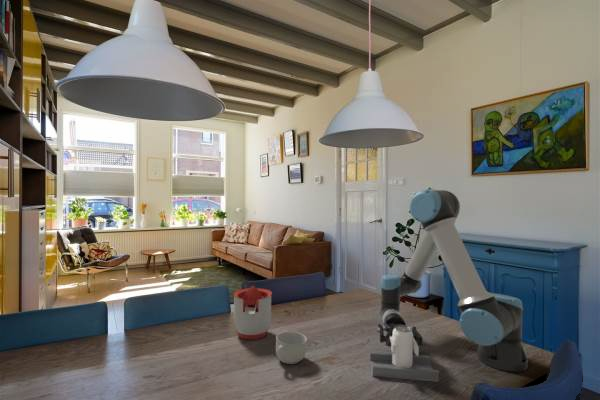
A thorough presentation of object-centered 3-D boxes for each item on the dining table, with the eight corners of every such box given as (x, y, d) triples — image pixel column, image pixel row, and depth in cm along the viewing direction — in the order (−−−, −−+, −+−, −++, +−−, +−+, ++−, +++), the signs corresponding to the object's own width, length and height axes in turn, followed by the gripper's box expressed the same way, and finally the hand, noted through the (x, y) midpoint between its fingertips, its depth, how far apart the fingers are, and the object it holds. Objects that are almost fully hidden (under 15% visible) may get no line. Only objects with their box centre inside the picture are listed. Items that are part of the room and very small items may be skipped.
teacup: (289, 349, 121) (289, 328, 121) (312, 359, 114) (313, 336, 114) (262, 364, 111) (262, 340, 111) (286, 375, 104) (286, 350, 104)
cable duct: (429, 364, 112) (429, 356, 112) (438, 381, 101) (438, 372, 101) (369, 360, 114) (370, 351, 114) (372, 376, 104) (372, 367, 104)
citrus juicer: (228, 344, 125) (229, 292, 125) (236, 326, 142) (236, 280, 142) (270, 344, 125) (270, 292, 125) (272, 326, 143) (273, 281, 142)
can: (403, 358, 112) (404, 323, 112) (416, 367, 106) (417, 330, 106) (387, 361, 110) (388, 325, 110) (400, 370, 104) (401, 333, 104)
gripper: (419, 334, 124) (437, 364, 102) (367, 330, 127) (373, 359, 104) (420, 314, 124) (438, 340, 101) (368, 311, 127) (374, 336, 104)
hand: (405, 350), depth 103 cm, fingers closed on can, 6 cm apart
